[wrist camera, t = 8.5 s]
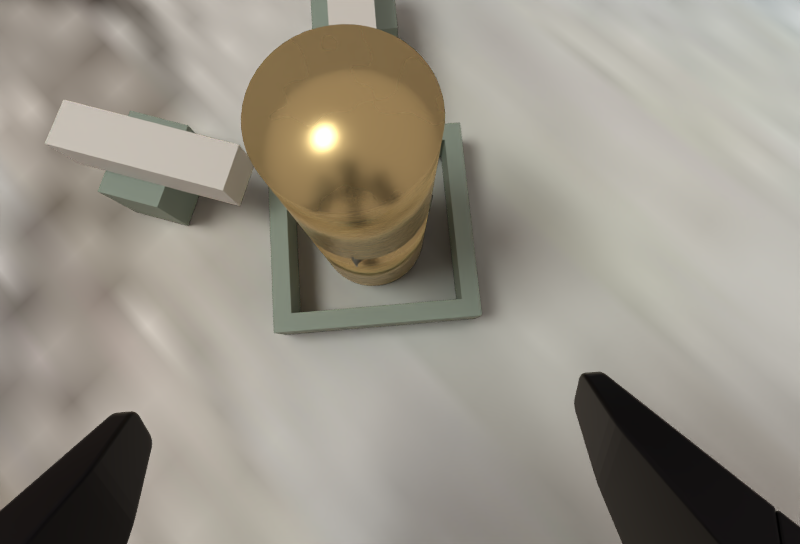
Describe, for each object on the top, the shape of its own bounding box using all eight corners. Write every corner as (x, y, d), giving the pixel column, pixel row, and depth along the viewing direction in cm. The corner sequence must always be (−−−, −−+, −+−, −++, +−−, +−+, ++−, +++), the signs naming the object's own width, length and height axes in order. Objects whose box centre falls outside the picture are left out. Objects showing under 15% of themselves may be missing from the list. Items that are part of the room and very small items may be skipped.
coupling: (443, 243, 23) (486, 129, 11) (364, 306, 23) (322, 255, 11) (381, 169, 24) (361, -11, 12) (303, 228, 23) (201, 100, 11)
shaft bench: (474, 318, 22) (495, 309, 18) (115, 349, 22) (34, 347, 17) (438, -5, 25) (447, -90, 21) (122, 19, 25) (55, -61, 20)
